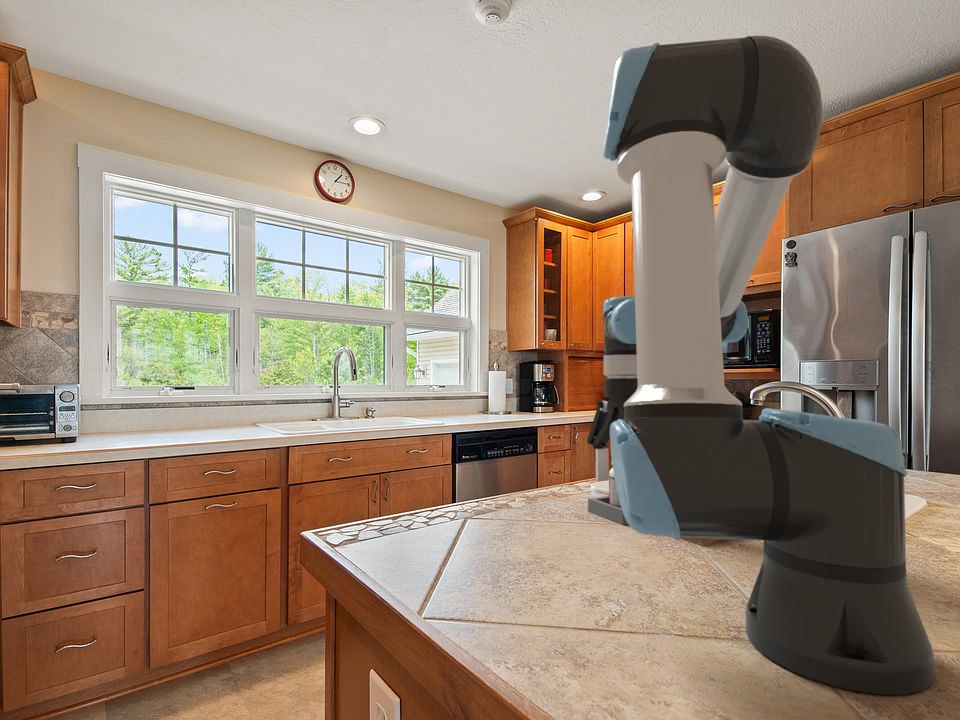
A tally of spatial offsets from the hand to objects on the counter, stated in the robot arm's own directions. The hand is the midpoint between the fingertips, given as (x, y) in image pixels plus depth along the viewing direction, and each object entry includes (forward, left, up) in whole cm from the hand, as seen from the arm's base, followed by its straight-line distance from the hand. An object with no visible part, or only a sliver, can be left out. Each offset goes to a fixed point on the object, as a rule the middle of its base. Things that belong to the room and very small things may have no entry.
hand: (624, 487), depth 100 cm
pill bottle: (0, 0, -5) cm, 5 cm away
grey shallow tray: (+5, 0, -5) cm, 7 cm away
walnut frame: (+4, -14, -5) cm, 15 cm away
